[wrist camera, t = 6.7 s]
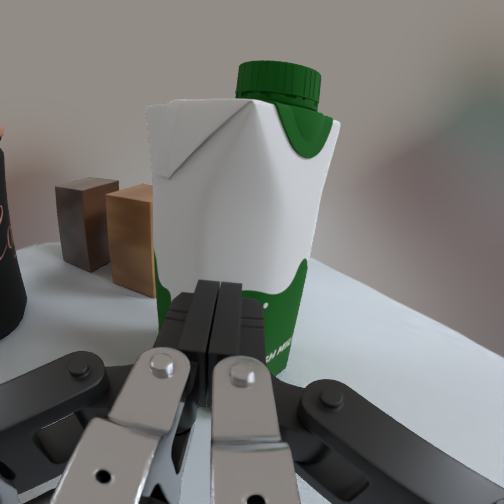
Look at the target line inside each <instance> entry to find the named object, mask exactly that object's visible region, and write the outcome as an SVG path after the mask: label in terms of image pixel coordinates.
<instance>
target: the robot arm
mask: <svg viewBox="0 0 504 504" xmlns="http://www.w3.org/2000/svg"><path fill="white" fill-rule="evenodd" d="M207 397H208V407H211V408H212V419H211V458H210V498H211V504H301V502H300V497H299V491H298V486H297V480H296V475H295V472H296V473H297V474H298V475H299V476H300V477H301V478H302V479H303V480H305V481H306V482H307V483H308V484H309V485H310V486H311V487H313V488H314V489H315V490H316V491H317V492H318V493H320V494H321V495H322V496H323V497H324V498H326V499H327V500H328V501H329V502H331V503H332V504H504V488H503V487H501V486H499V485H497V484H496V483H494V482H492V481H490V480H489V479H487V478H485V477H483V476H482V475H480V474H478V473H477V472H475V471H473V470H472V469H470V468H468V467H467V466H465V465H464V464H462V463H460V462H459V461H457V460H455V459H454V458H452V457H451V456H449V455H447V454H446V453H444V452H443V451H441V450H440V449H438V448H437V447H435V446H433V445H432V444H430V443H429V442H427V441H426V440H424V439H423V438H421V437H420V436H418V435H417V434H415V433H414V432H412V431H411V430H409V429H408V428H406V427H405V426H403V425H402V424H401V423H399V422H398V421H396V420H395V419H393V418H392V417H390V416H389V415H387V414H386V413H385V412H383V411H382V410H380V409H379V408H378V407H376V406H375V405H373V404H372V403H370V402H369V401H368V400H366V399H365V398H364V397H362V396H361V395H359V394H358V393H357V392H355V391H354V390H352V389H351V388H350V387H348V386H347V385H345V384H343V383H341V382H339V381H336V380H330V379H322V380H317V381H314V382H312V383H310V384H309V385H308V386H306V388H302V387H298V386H294V385H291V384H288V383H285V382H283V381H281V380H279V379H278V378H276V377H275V376H274V375H273V374H272V373H271V372H270V371H269V369H268V367H267V364H266V349H265V329H264V310H263V307H262V306H261V304H260V303H259V301H258V300H257V299H252V298H242V283H234V282H223V281H221V285H220V281H212V280H201V279H199V280H198V282H197V285H196V288H195V291H194V293H188V292H181V293H180V294H179V295H178V296H176V297H175V298H174V299H173V300H172V302H171V304H170V307H169V310H168V312H167V314H166V317H165V319H164V321H163V324H162V326H161V329H160V331H159V334H158V336H157V339H156V341H155V344H154V346H153V348H152V349H149V350H147V351H145V352H144V353H142V354H141V355H140V356H139V357H138V359H137V360H136V362H135V364H132V365H127V366H112V367H105V366H104V363H103V361H102V359H101V358H100V357H99V356H97V355H96V354H94V353H91V352H87V351H77V352H73V353H70V354H68V355H65V356H63V357H61V358H59V359H57V360H54V361H52V362H50V363H48V364H46V365H43V366H41V367H39V368H37V369H34V370H32V371H30V372H28V373H25V374H23V375H21V376H19V377H16V378H14V379H12V380H10V381H7V382H5V383H3V384H0V504H21V502H20V500H19V498H18V494H21V493H23V492H25V491H28V490H30V489H32V488H34V487H36V486H38V485H41V484H43V483H45V482H47V481H49V480H51V479H53V478H55V477H57V476H59V475H61V474H62V476H61V478H60V481H59V483H58V485H57V487H56V488H54V489H51V490H49V491H47V492H45V493H43V494H42V495H40V496H38V497H36V498H34V499H32V500H30V501H28V502H26V503H24V504H179V500H180V493H181V479H182V474H183V470H184V466H185V463H186V459H187V455H188V451H189V447H190V443H191V439H192V435H193V431H194V427H195V424H194V422H195V420H196V415H197V408H198V406H201V407H206V404H207ZM72 413H74V414H72ZM70 414H72V415H70ZM68 415H70V416H68ZM66 416H68V417H66ZM64 417H66V418H64ZM62 418H64V419H62ZM60 419H62V420H60ZM58 420H60V421H58ZM56 421H58V422H56ZM54 422H56V423H54ZM52 423H54V424H52ZM50 424H52V425H50ZM48 425H50V426H48ZM46 426H48V427H46ZM44 427H46V428H44ZM41 428H43V429H41Z"/></svg>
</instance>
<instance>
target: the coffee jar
mask: <svg viewBox="0 0 504 504" xmlns="http://www.w3.org/2000/svg"><path fill="white" fill-rule="evenodd" d="M3 131H4V127H3V126H0V140H1V137H2V136H3ZM4 165H5V164H4V153H3V151H2V150H1V148H0V340H1V339H2V338H4V337H6V336H7V335H9V334H10V333H11V332H12V331H13V330H14V329H15V328H16V327H17V326H18V324H19V323H20V321H21V320H22V318H23V315H24V311H25V306H26V303H27V296H26V292H25V288H24V284H23V281H22V277H21V273H20V269H19V265H18V260H17V256H16V251H15V246H14V241H13V236H12V230H11V224H10V217H9V210H8V202H7V193H6V182H5V166H4Z"/></svg>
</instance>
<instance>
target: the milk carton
mask: <svg viewBox="0 0 504 504" xmlns="http://www.w3.org/2000/svg"><path fill="white" fill-rule="evenodd" d="M320 83H321V75H320V73H319V72H317V71H316V70H313V69H311V68H308V67H305V66H302V65H298V64H293V63H288V62H281V61H250V62H245V63H242V64H241V65H240V66H239V73H238V80H237V88H236V92H235V93H236V98H235V99H203V100H202V99H201V100H184V99H182V100H173V101H170V102H169V103H168V104H163V105H153V106H146V107H145V108H146V120H147V131H148V142H149V152H150V161H151V171H152V182H153V246H154V268H155V285H156V298H157V310H158V322H159V331H160V329H161V326H162V324H163V321H164V319H165V317H166V314H167V312H168V310H169V307H170V304H171V302H172V300H173V299H174V298H175V297H176V296H178V295H179V294H180V293H181V292H188V293H194V291H195V288H196V285H197V282H198V280H199V279H201V280H212V281H220V285H221V281H223V282H234V283H242V298H252V299H257V300H258V301H259V303H260V304H261V306H262V307H263V310H264V329H265V349H266V364H267V367H268V369H269V371H270V372H271V373H272V374H273V375H274V376H276V375H277V374H279V373H280V372H281V371H282V370H283V369H285V368H286V365H287V361H288V356H289V352H290V347H291V342H292V337H293V333H294V328H295V323H296V319H297V315H298V310H299V306H300V301H301V297H302V292H303V287H304V283H305V278H306V273H307V268H308V263H309V258H310V253H311V248H312V243H313V237H314V232H315V227H316V221H317V215H318V210H319V204H320V199H321V195H322V190H323V187H324V183H325V180H326V176H327V173H328V169H329V165H330V162H331V159H332V155H333V152H334V148H335V144H336V141H337V137H338V133H339V129H340V126H341V124H340V122H338V121H335V120H333V119H332V118H331V117H328V116H324V115H323V114H322V113H319V112H317V109H318V103H319V95H320V85H321V84H320ZM207 404H208V397H207Z"/></svg>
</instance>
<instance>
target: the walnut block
mask: <svg viewBox="0 0 504 504" xmlns="http://www.w3.org/2000/svg"><path fill="white" fill-rule="evenodd" d="M116 191H119V181H118V180H110V179H101V178H92V177H88V178H84V179H80V180H76V181H72V182H69V183H65V184H62V185H58V186H55V192H56V206H57V216H58V225H59V233H60V240H61V247H62V253H63V259H64V261H66V262H68V263H70V264H73V265H75V266H77V267H79V268H82V269H84V270H86V271H88V272H93V271H94V270H96V269H98V268H100V267H101V266H103V265H105V264H107V263H108V262H110V261H111V259H110V250H109V239H108V227H107V211H106V194H109V193H112V192H116Z"/></svg>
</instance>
